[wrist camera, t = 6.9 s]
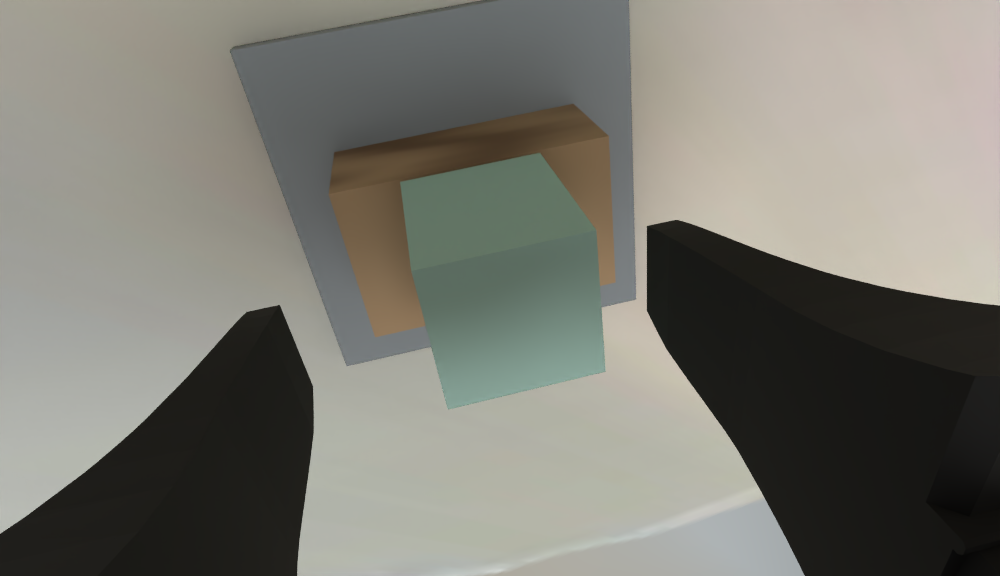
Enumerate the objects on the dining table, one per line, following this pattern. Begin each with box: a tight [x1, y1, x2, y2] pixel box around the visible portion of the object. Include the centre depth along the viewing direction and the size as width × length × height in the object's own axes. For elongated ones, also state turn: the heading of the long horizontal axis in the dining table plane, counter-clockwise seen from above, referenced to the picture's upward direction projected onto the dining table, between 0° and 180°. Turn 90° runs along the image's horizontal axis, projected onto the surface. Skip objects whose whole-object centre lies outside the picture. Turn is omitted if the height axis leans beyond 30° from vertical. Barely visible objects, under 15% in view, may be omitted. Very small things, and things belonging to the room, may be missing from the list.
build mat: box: [230, 0, 636, 366], centre depth 21 cm, size 12×12×1 cm
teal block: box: [400, 153, 605, 409], centre depth 16 cm, size 4×4×5 cm
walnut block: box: [329, 104, 616, 337], centre depth 20 cm, size 8×5×4 cm, turn 98°
